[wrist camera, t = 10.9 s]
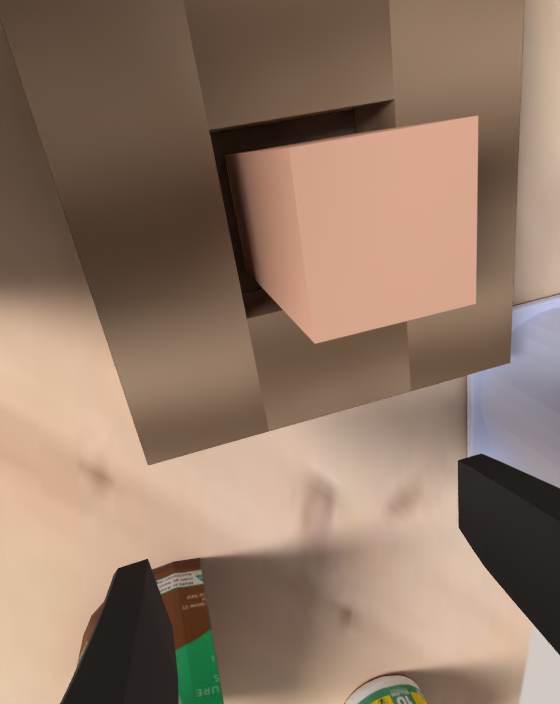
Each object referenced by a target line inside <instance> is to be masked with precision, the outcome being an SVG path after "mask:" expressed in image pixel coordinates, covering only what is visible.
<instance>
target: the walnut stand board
mask: <svg viewBox="0 0 560 704" xmlns="http://www.w3.org/2000/svg"><path fill="white" fill-rule="evenodd" d="M0 20H1V23H2V26H3V29H4V32H5V35H6V38H7V41H8V44H9V47H10V50H11V53H12V56H13V59H14V62H15V65H16V68H17V71H18V74H19V77H20V80H21V83H22V86H23V89H24V92H25V95H26V98H27V101H28V104H29V107H30V110H31V113H32V116H33V119H34V122H35V125H36V128H37V131H38V134H39V137H40V140H41V143H42V146H43V149H44V152H45V155H46V158H47V161H48V164H49V168H50V171H51V174H52V177H53V180H54V183H55V186H56V189H57V192H58V195H59V198H60V201H61V204H62V207H63V210H64V213H65V216H66V219H67V222H68V225H69V228H70V231H71V234H72V237H73V240H74V243H75V246H76V249H77V252H78V255H79V258H80V261H81V264H82V267H83V270H84V273H85V276H86V279H87V282H88V285H89V288H90V291H91V294H92V297H93V300H94V303H95V306H96V309H97V312H98V316H99V319H100V322H101V325H102V328H103V331H104V334H105V337H106V340H107V343H108V346H109V349H110V352H111V355H112V358H113V361H114V364H115V367H116V370H117V373H118V376H119V379H120V382H121V385H122V388H123V391H124V394H125V397H126V400H127V403H128V406H129V409H130V412H131V415H132V418H133V421H134V424H135V427H136V430H137V433H138V436H139V439H140V442H141V445H142V448H143V451H144V454H145V457H146V460H147V463H148V465H152V464H155V463H159V462H162V461H166V460H169V459H173V458H176V457H180V456H183V455H187V454H190V453H194V452H198V451H201V450H205V449H208V448H212V447H215V446H219V445H222V444H226V443H229V442H233V441H236V440H240V439H243V438H247V437H251V436H254V435H258V434H261V433H265V432H268V431H272V430H275V429H279V428H282V427H286V426H289V425H293V424H296V423H300V422H304V421H307V420H311V419H314V418H318V417H321V416H325V415H328V414H332V413H335V412H339V411H342V410H346V409H349V408H353V407H357V406H360V405H364V404H367V403H371V402H374V401H378V400H381V399H385V398H388V397H392V396H395V395H399V394H402V393H406V392H410V391H413V390H417V389H420V388H424V387H427V386H431V385H434V384H438V383H441V382H445V381H448V380H452V379H455V378H459V377H463V376H466V375H470V374H473V373H477V372H480V371H484V370H487V369H491V368H494V367H498V366H501V365H505V364H508V363H510V359H511V333H512V307H513V281H514V256H515V230H516V204H517V178H518V153H519V127H520V101H521V75H522V50H523V24H524V0H0ZM349 110H354V115H355V126H356V133H362V132H369V131H376V130H383V129H389V128H396V127H403V126H410V125H417V124H424V123H431V122H437V121H444V120H451V119H458V118H465V117H472V116H478V187H477V267H476V304H473V305H469V306H465V307H461V308H457V309H453V310H449V311H445V312H441V313H437V314H433V315H429V316H425V317H421V318H417V319H413V320H409V321H405V322H401V323H397V324H393V325H389V326H385V327H381V328H377V329H372V330H368V331H364V332H360V333H356V334H352V335H348V336H344V337H340V338H336V339H332V340H328V341H324V342H320V343H316V344H315V343H314V342H313V341H312V340H311V339H310V338H309V337H308V336H307V335H306V334H305V333H304V332H303V331H302V330H301V328H300V327H299V326H298V325H297V324H296V323H295V322H294V321H293V320H292V319H291V318H290V317H289V316H288V315H287V314H286V313H285V311H284V310H283V309H282V308H281V307H280V306H279V305H278V304H277V303H276V302H275V301H274V300H273V299H272V298H271V297H270V296H269V294H268V293H267V292H266V291H265V290H264V289H263V288H262V289H258V290H253V291H249V292H245V293H241V288H240V283H239V278H238V273H237V268H236V263H235V258H234V253H233V248H232V243H231V238H230V233H229V228H228V222H227V217H226V212H225V207H224V202H223V197H222V192H221V187H220V182H219V177H218V172H217V167H216V162H215V157H214V152H213V147H212V142H211V137H210V134H212V133H218V132H224V131H230V130H236V129H242V128H248V127H254V126H260V125H266V124H272V123H278V122H284V121H290V120H296V119H302V118H308V117H314V116H319V115H325V114H331V113H337V112H343V111H349Z"/></svg>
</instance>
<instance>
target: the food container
mask: <svg viewBox="0 0 560 704" xmlns="http://www.w3.org/2000/svg"><path fill="white" fill-rule="evenodd" d="M152 572H153V574H154V577H155V580H156V583H157V585H158V588H159V591H160V594H161V596H162V599H163V602H164V604H165V607H166V610H167V613H168V615H169V618H170V621H171V624H172V627H173V635H174V644H175V652H176V662H177V671H178V693H179V704H224V702H223V696H222V690H221V684H220V678H219V672H218V666H217V660H216V654H215V648H214V642H213V636H212V630H211V624H210V618H209V612H208V606H207V600H206V594H205V588H204V582H203V576H202V570H201V564H200V558H197V559H190V560H183V561H176V562H172V563H169V564H166V565H164V566H161V567H158V568H155V569H152ZM103 604H104V602H103V603H102V604H101V605H100V607H99V608H98V609H97V610H96V611H95V612H94V614H93V615H92V616H91V618H90V621H89V623H88V626H87V628H86V631H85V633H84V636H83V641H82V645H81V650H80V654H79V659H78V664H79V662H80V659H81V657H82V655H83V653H84V650H85V648H86V646H87V643H88V641H89V639H90V636H91V634H92V631H93V629H94V626H95V624H96V621H97V619H98V617H99V614H100V611H101V609H102V606H103ZM78 664H77V666H78ZM76 669H77V668H76Z"/></svg>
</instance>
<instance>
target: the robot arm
mask: <svg viewBox="0 0 560 704" xmlns="http://www.w3.org/2000/svg"><path fill="white" fill-rule="evenodd" d="M458 510H459V529H460V530H461V532H462V533H463V535H464V537H465V538H466V540H467V541H468V543H469V544H470V546H471V547H472V549H473V550H474V552H475V553H476V555H477V556H478V558H479V559H480V561H481V562H482V564H483V565H484V566H485V568H486V569H487V570H488V571H489V573H490V574H491V575H492V576H493V577H494V579H495V580H496V581H497V582H498V583H499V585H500V586H501V587H502V588H503V589H504V590H505V592H506V593H507V594H508V595H509V596H510V598H511V599H512V600H513V601H514V602H515V603H516V605H517V606H518V607H519V608H520V609H521V610H522V612H523V613H524V614H525V615H526V616H527V617H528V619H529V620H530V621H531V622H532V623H533V624H534V626H535V627H536V628H537V629H538V630H539V631H540V632H541V634H542V635H543V636H544V637H545V638H546V640H547V641H548V642H549V643H550V644H551V645H552V647H553V648H554V649H555V650H556V651H557V652H558V654H559V655H560V294H559V295H555V296H551V297H547V298H544V299H540V300H536V301H532V302H528V303H524V304H520V305H517V306H513V307H512V333H511V359H510V363H508V364H505V365H501V366H498V367H494V368H491V369H487V370H484V371H480V372H477V373H473V374H470V375H467V458H465V459H462V460H459V461H458ZM60 704H179V693H178V671H177V662H176V652H175V644H174V635H173V627H172V624H171V621H170V618H169V615H168V613H167V610H166V607H165V604H164V602H163V599H162V596H161V594H160V591H159V588H158V585H157V583H156V580H155V577H154V574H153V572H152V569H151V566H150V564H149V561H148V559H146V560H143V561H140V562H137V563H133V564H130V565H127V566H124V567H121V568H118V569H117V571H116V572H115V574H114V576H113V579H112V582H111V585H110V587H109V590H108V593H107V596H106V598H105V601H104V604H103V606H102V609H101V611H100V614H99V617H98V619H97V621H96V624H95V626H94V629H93V631H92V634H91V636H90V639H89V641H88V643H87V646H86V648H85V650H84V653H83V655H82V657H81V659H80V662H79V664H78V666H77V669H76V671H75V673H74V676H73V678H72V680H71V682H70V684H69V687H68V689H67V691H66V693H65V695H64V697H63V699H62V701H61V703H60Z"/></svg>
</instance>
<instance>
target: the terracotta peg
mask: <svg viewBox="0 0 560 704" xmlns="http://www.w3.org/2000/svg"><path fill="white" fill-rule="evenodd" d="M225 159H226V165H227V170H228V176H229V181H230V186H231V192H232V197H233V203H234V208H235V213H236V219H237V224H238V230H239V235H240V240H241V246H242V251H243V257H244V262H245V267H246V271H247V272H248V273H249V274H250V275H251V276H252V277H253V279H254V280H255V281H256V282H257V283H258V284H259V285H260V286H261V287H262V288H263V289H264V290H265V291H266V292H267V293H268V294H269V296H270V297H271V298H272V299H273V300H274V301H275V302H276V303H277V304H278V305H279V306H280V307H281V308H282V309H283V310H284V311H285V313H286V314H287V315H288V316H289V317H290V318H291V319H292V320H293V321H294V322H295V323H296V324H297V325H298V326H299V327H300V328H301V330H302V331H303V332H304V333H305V334H306V335H307V336H308V337H309V338H310V339H311V340H312V341H313V342H314V343H315V344H316V343H320V342H324V341H328V340H332V339H336V338H340V337H344V336H348V335H352V334H356V333H360V332H364V331H368V330H372V329H377V328H381V327H385V326H389V325H393V324H397V323H401V322H405V321H409V320H413V319H417V318H421V317H425V316H429V315H433V314H437V313H441V312H445V311H449V310H453V309H457V308H461V307H465V306H469V305H473V304H476V267H477V187H478V116H472V117H465V118H458V119H451V120H444V121H437V122H431V123H424V124H417V125H410V126H403V127H396V128H389V129H383V130H376V131H369V132H362V133H355V134H348V135H342V136H335V137H329V138H323V139H317V140H311V141H305V142H299V143H293V144H288V145H282V146H276V147H270V148H264V149H258V150H252V151H246V152H240V153H234V154H228V155H225Z"/></svg>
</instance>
